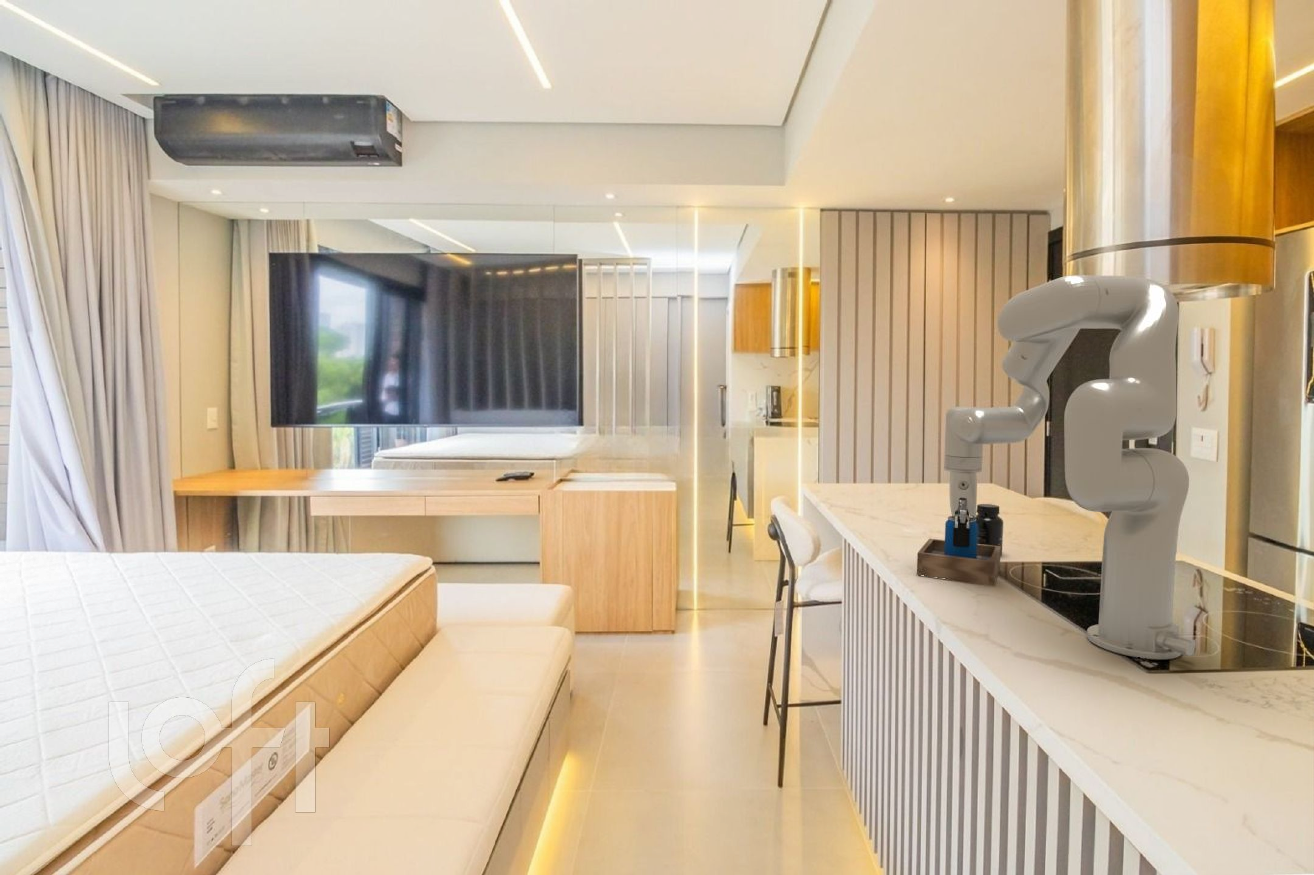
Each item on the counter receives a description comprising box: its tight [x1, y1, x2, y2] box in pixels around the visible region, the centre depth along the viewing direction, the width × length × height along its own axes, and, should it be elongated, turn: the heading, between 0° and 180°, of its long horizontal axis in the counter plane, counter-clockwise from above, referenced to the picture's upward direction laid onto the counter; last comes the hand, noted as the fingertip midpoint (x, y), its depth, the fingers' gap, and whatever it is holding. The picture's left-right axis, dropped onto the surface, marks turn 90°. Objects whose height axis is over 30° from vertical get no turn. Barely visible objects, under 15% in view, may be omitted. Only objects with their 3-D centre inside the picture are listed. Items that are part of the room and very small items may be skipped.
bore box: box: [916, 538, 1001, 587], centre depth 152 cm, size 15×15×5 cm
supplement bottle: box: [975, 503, 1004, 557], centre depth 166 cm, size 7×7×12 cm
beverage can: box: [944, 515, 978, 559], centre depth 151 cm, size 6×6×12 cm
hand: (960, 541), depth 151 cm, fingers open, 9 cm apart
